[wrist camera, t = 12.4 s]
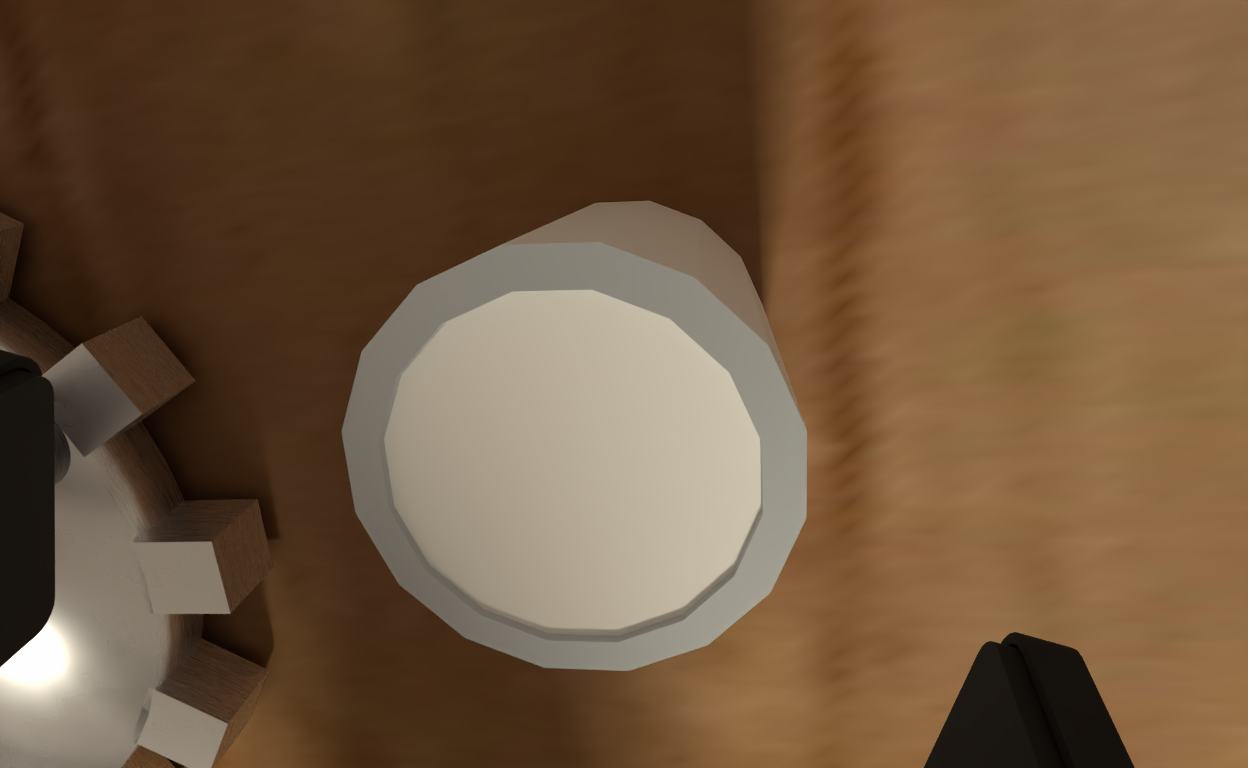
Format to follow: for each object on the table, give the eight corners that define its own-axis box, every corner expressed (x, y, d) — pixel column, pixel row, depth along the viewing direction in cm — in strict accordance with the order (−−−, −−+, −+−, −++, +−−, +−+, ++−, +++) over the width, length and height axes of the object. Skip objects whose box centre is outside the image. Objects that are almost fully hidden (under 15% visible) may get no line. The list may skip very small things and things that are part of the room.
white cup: (408, 294, 21) (245, 417, 14) (665, 95, 19) (611, 133, 12) (601, 533, 22) (533, 744, 16) (861, 373, 20) (908, 541, 13)
